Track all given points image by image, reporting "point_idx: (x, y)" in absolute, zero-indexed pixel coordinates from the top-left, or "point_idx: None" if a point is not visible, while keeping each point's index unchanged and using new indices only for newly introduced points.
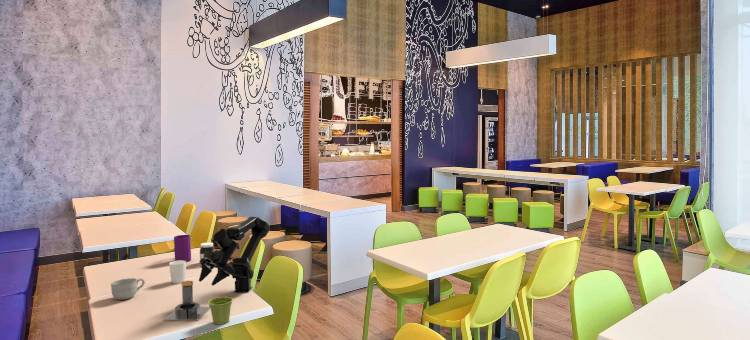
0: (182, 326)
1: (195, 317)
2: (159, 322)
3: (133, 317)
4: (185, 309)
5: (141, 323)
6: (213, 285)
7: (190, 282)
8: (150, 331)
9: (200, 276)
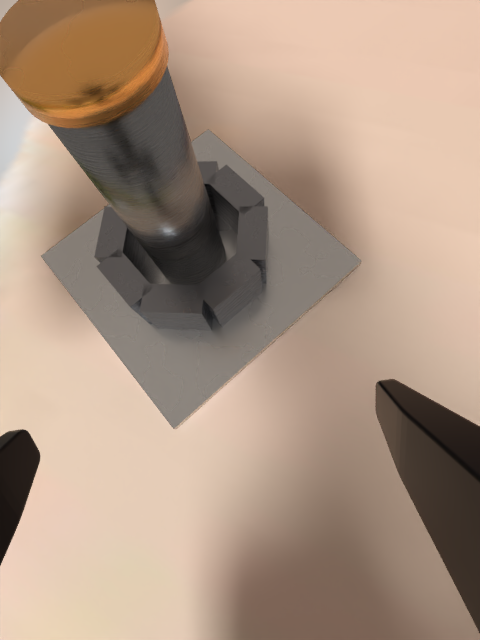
0: (49, 176)
1: (79, 260)
2: (203, 116)
3: (388, 49)
4: None
5: (263, 58)
6: (25, 462)
7: (26, 57)
8: None
9: (430, 417)
